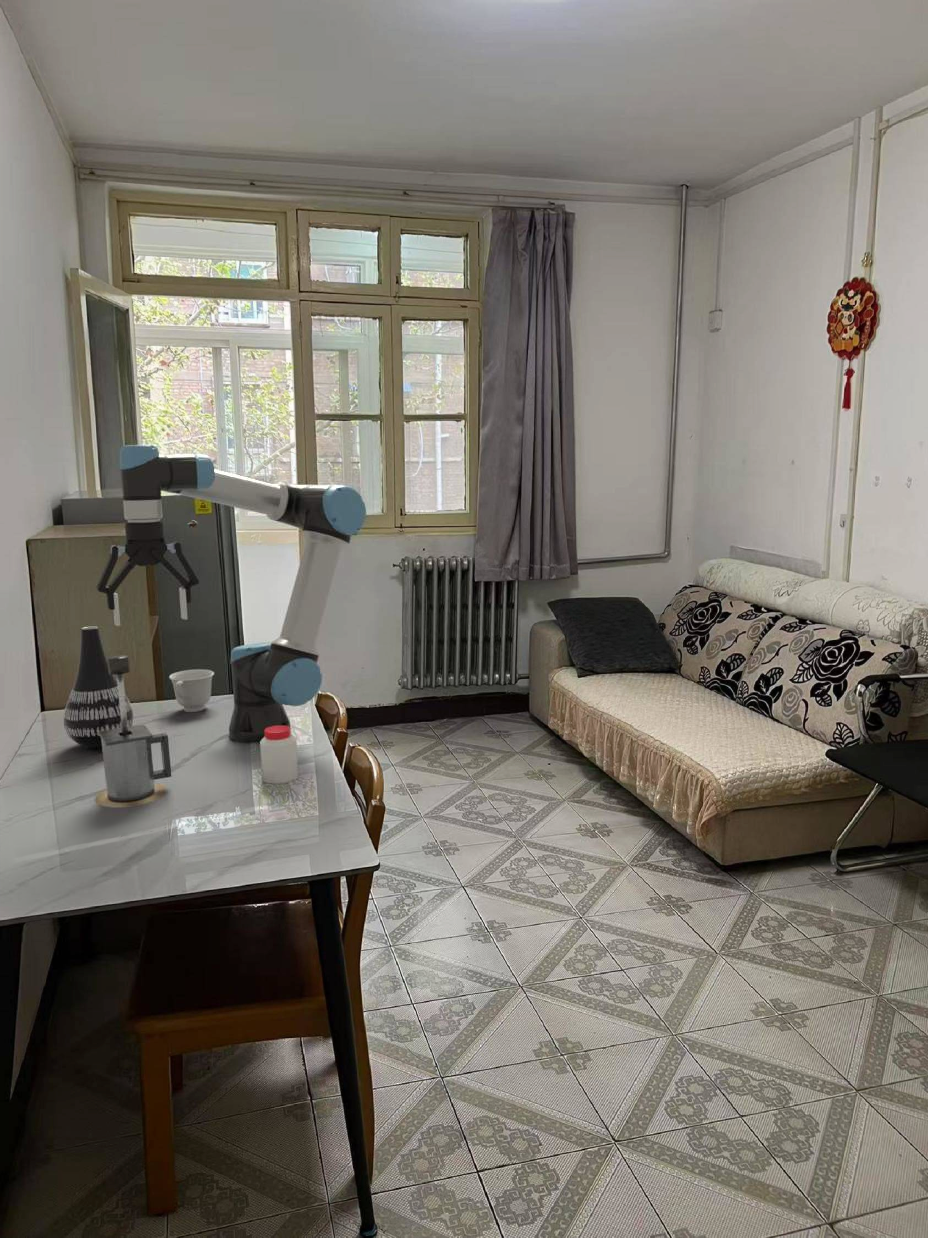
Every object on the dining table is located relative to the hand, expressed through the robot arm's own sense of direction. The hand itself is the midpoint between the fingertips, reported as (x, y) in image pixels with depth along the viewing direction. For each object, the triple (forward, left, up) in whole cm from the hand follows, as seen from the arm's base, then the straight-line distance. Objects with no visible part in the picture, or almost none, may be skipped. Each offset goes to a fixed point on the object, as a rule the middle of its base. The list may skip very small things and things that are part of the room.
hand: (151, 621), depth 194 cm
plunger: (+8, +7, -25) cm, 27 cm away
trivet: (+8, +7, -35) cm, 37 cm away
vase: (+8, -34, -35) cm, 50 cm away
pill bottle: (-22, +12, -35) cm, 43 cm away
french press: (+7, +7, -34) cm, 36 cm away
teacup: (-18, -53, -35) cm, 66 cm away
